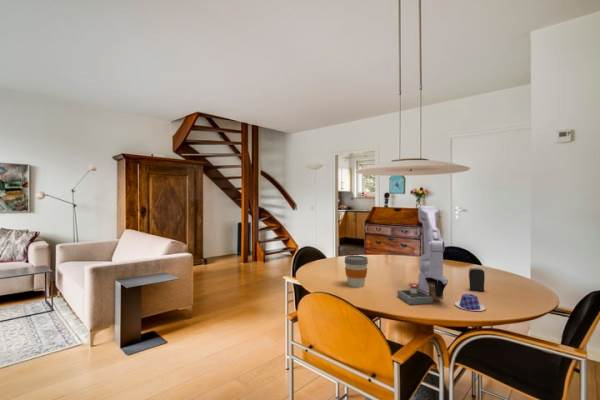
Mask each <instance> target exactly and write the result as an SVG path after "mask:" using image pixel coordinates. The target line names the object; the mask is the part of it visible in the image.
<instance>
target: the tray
mask: <svg viewBox="0 0 600 400" xmlns="http://www.w3.org/2000/svg"><path fill="white" fill-rule="evenodd" d="M396 293H397V298H398V299H400V300H402V301H403V302H405V303H406V304H408V305H409V306H419V305H433V303H434V300H433V297H432V296H430V295H429V293H426V292H425V291H423V290H421V289H419V288H418V297H415V298H411V297H410V289H399V290H397V292H396Z"/></svg>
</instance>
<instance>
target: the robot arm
mask: <svg viewBox="0 0 600 400" xmlns="http://www.w3.org/2000/svg"><path fill="white" fill-rule="evenodd" d="M440 210H441V209H440V206H438V205H421V204H420V205H419V206H418V208H417V213H418V214H417V215H418V216H417V217H418V221H419V223H421V224H422V227H423V245H424V247H423V248H424V249H423V251H424V254H422V255H421V256H420V257H419V259H418V260H419V261H418V269H419V270H418V271H419V273H418V284H419V287H418V289H419V290H421V291H423V292H424V293H426V294H429V285H428V283H431V282H434V284H435V288H436V296H437V297H442V294H443V295H444V290H445V288H446V286H447V285H448V284H449V279H447V278H446V277H445V276H444V272H443V271H444V270H443V269H444V264H443V263H444V252H445V249H446V247H445V241H444V239H443V238H442V236H441V231H440V229H439V228H438V227H437V222H438V220H439V217H440V214H441V213H440V212H441V211H440Z"/></svg>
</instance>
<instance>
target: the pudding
mask: <svg viewBox="0 0 600 400" xmlns="http://www.w3.org/2000/svg"><path fill="white" fill-rule="evenodd" d="M454 305H455V306H456V307H457V308H460V309H463V310H466V311H472V312H481V311H485V310H486V307H485V305H484V304H480V302H479V299H478V296H477V295H475V294H471V293H464V294H462V295H461V298H460V300H458V301H456V302H454ZM468 309H469V310H468ZM470 309H471V310H470Z"/></svg>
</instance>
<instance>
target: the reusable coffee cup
mask: <svg viewBox="0 0 600 400" xmlns="http://www.w3.org/2000/svg"><path fill="white" fill-rule="evenodd" d="M368 263H369V262H368V257H367V256H364V255H346V256H345V257H344V264H345V268H344V269H345V271H344V272H345V276H346V279H347V285H348V286H350V287H351V288H362V287H364V286H365V283H366V277H367V273H368Z"/></svg>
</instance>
